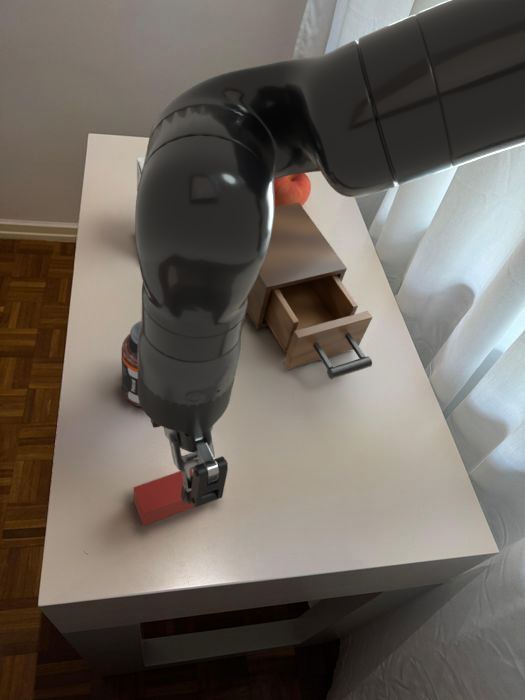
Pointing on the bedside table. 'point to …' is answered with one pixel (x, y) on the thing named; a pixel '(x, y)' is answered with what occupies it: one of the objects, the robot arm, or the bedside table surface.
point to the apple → (291, 189)
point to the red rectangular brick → (160, 498)
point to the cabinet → (292, 258)
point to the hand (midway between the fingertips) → (176, 458)
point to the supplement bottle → (131, 365)
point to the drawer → (318, 324)
